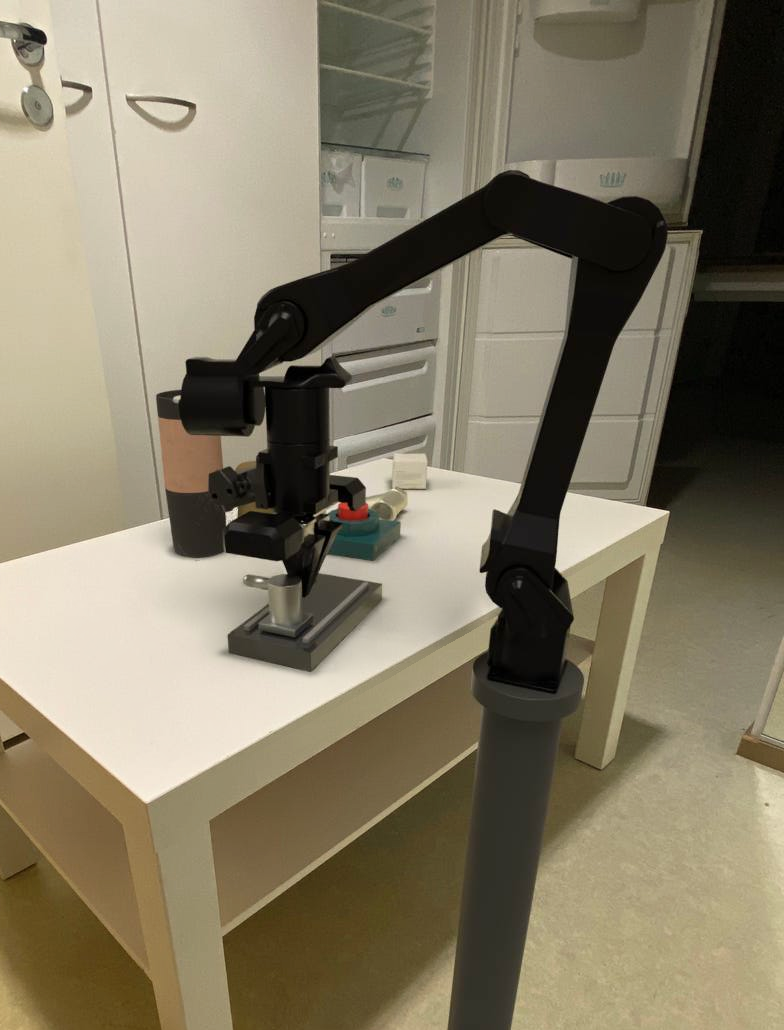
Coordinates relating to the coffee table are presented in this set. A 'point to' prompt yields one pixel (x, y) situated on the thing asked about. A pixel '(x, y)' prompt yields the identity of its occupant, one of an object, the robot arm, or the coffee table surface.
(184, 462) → the travel mug
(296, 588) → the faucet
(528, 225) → the robot arm
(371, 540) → the button block
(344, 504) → the button
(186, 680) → the coffee table surface
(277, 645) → the slide rail base
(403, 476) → the small box
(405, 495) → the pipe fitting
